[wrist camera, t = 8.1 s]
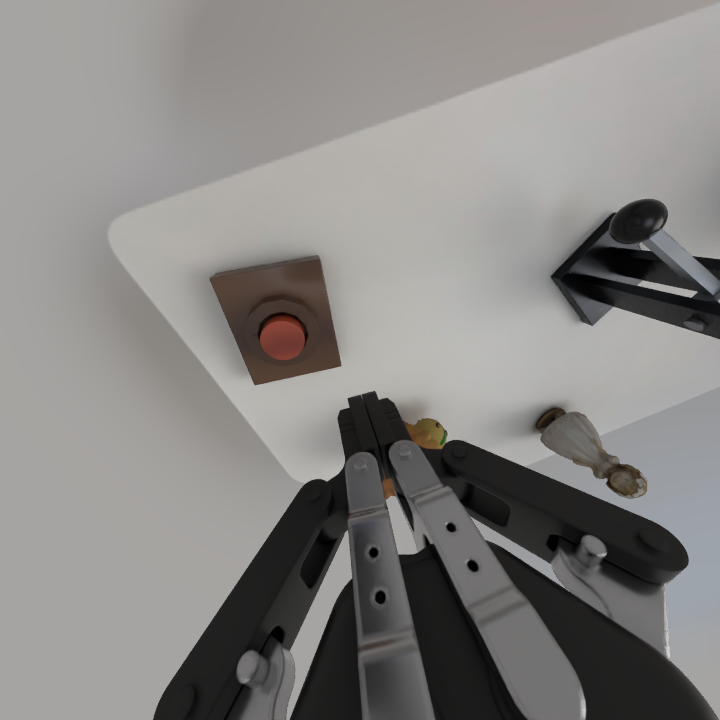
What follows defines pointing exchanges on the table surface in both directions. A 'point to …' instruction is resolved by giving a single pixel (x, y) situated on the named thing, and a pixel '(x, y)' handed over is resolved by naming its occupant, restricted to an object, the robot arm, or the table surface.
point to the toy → (421, 442)
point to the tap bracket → (632, 284)
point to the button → (282, 337)
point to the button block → (279, 297)
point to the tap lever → (662, 245)
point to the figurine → (589, 451)
